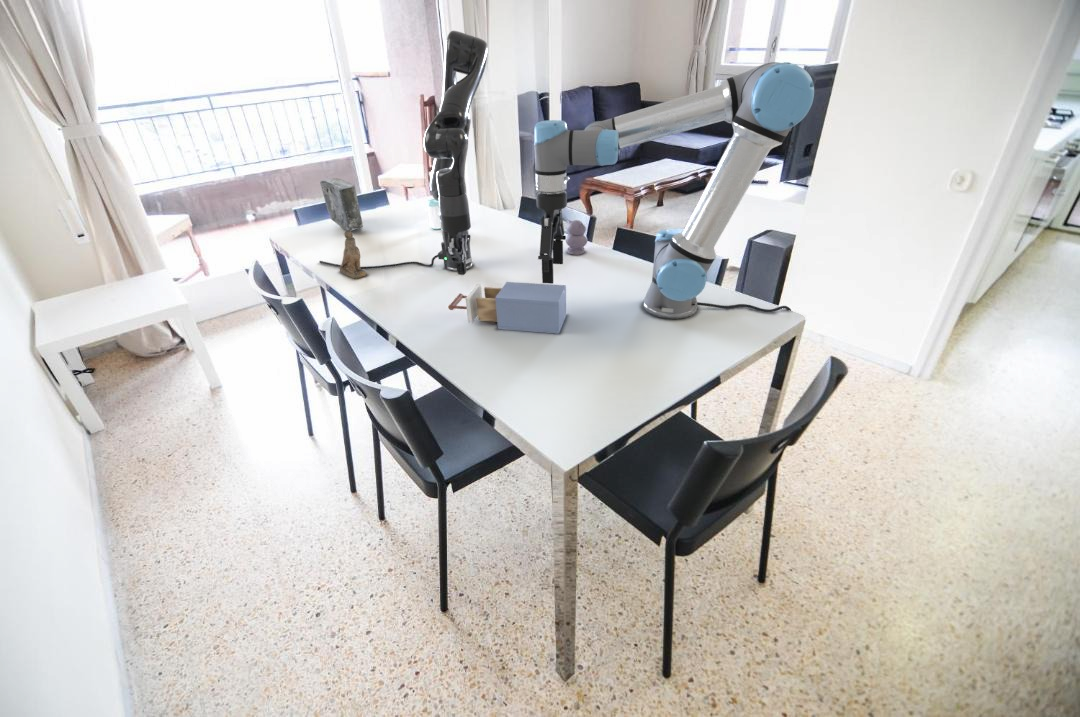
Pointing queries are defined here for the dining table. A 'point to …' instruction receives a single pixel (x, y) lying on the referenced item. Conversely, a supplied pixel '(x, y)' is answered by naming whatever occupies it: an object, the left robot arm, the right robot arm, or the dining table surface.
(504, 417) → the dining table surface
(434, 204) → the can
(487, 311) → the drawer
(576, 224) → the lavender rounded piece
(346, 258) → the worn brown figurine
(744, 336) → the dining table surface
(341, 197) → the concrete block
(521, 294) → the cabinet
